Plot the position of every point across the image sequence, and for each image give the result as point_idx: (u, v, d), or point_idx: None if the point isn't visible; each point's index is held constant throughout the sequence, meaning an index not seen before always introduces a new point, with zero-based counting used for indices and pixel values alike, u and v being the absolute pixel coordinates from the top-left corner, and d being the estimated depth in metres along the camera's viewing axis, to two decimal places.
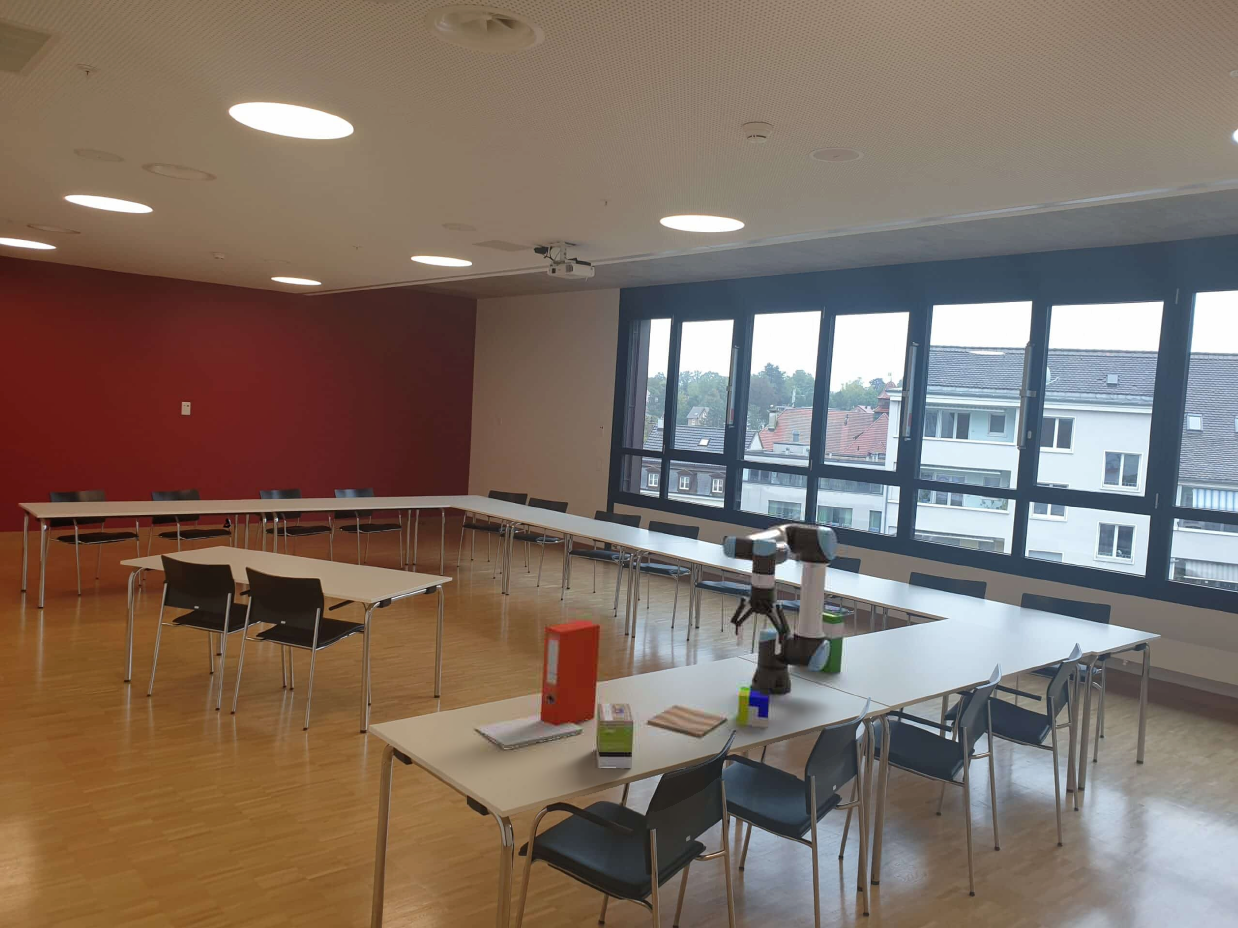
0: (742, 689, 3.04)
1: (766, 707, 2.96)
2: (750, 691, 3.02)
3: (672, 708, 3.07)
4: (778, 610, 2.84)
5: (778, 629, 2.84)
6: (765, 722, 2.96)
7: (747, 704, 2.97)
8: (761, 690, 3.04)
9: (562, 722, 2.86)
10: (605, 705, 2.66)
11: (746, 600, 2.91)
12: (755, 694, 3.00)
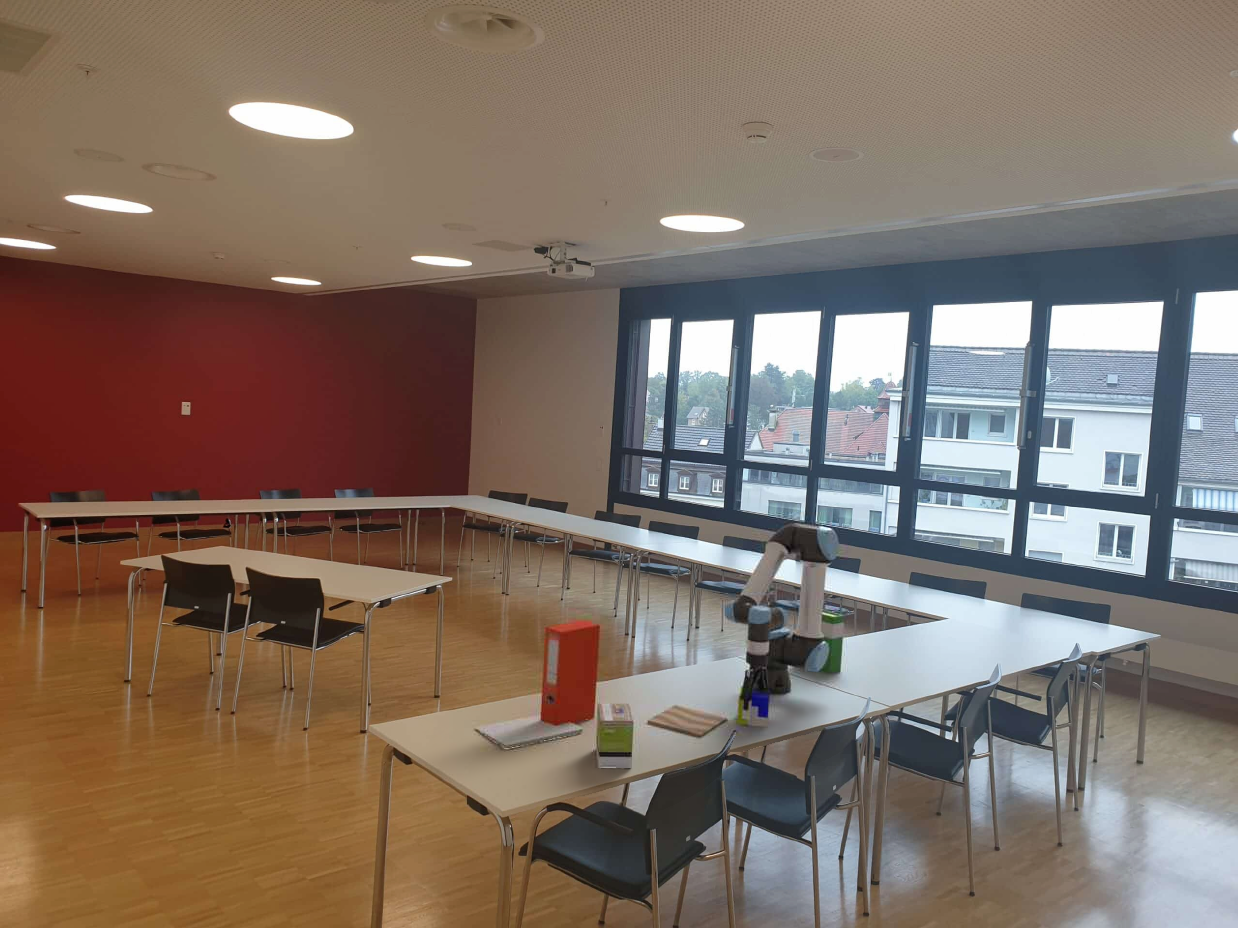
0: None
1: (766, 707, 2.96)
2: None
3: (672, 708, 3.07)
4: None
5: None
6: (765, 722, 2.96)
7: None
8: (761, 690, 3.04)
9: (562, 722, 2.86)
10: (605, 705, 2.66)
11: None
12: (754, 693, 3.00)
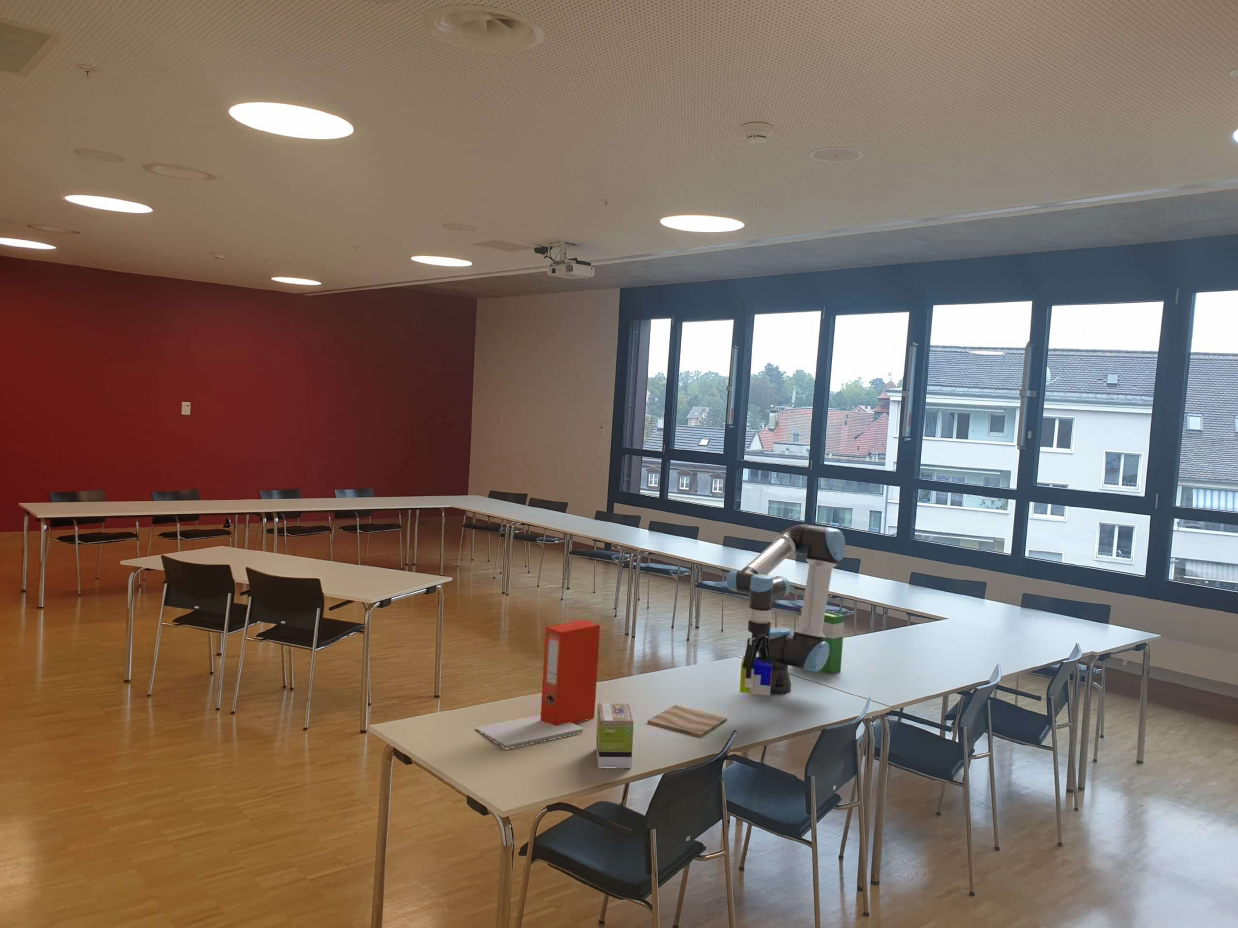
0: None
1: (768, 675, 2.96)
2: None
3: (672, 708, 3.07)
4: None
5: None
6: (768, 690, 2.96)
7: None
8: (763, 659, 3.03)
9: (562, 722, 2.86)
10: (605, 705, 2.66)
11: None
12: (757, 662, 2.99)
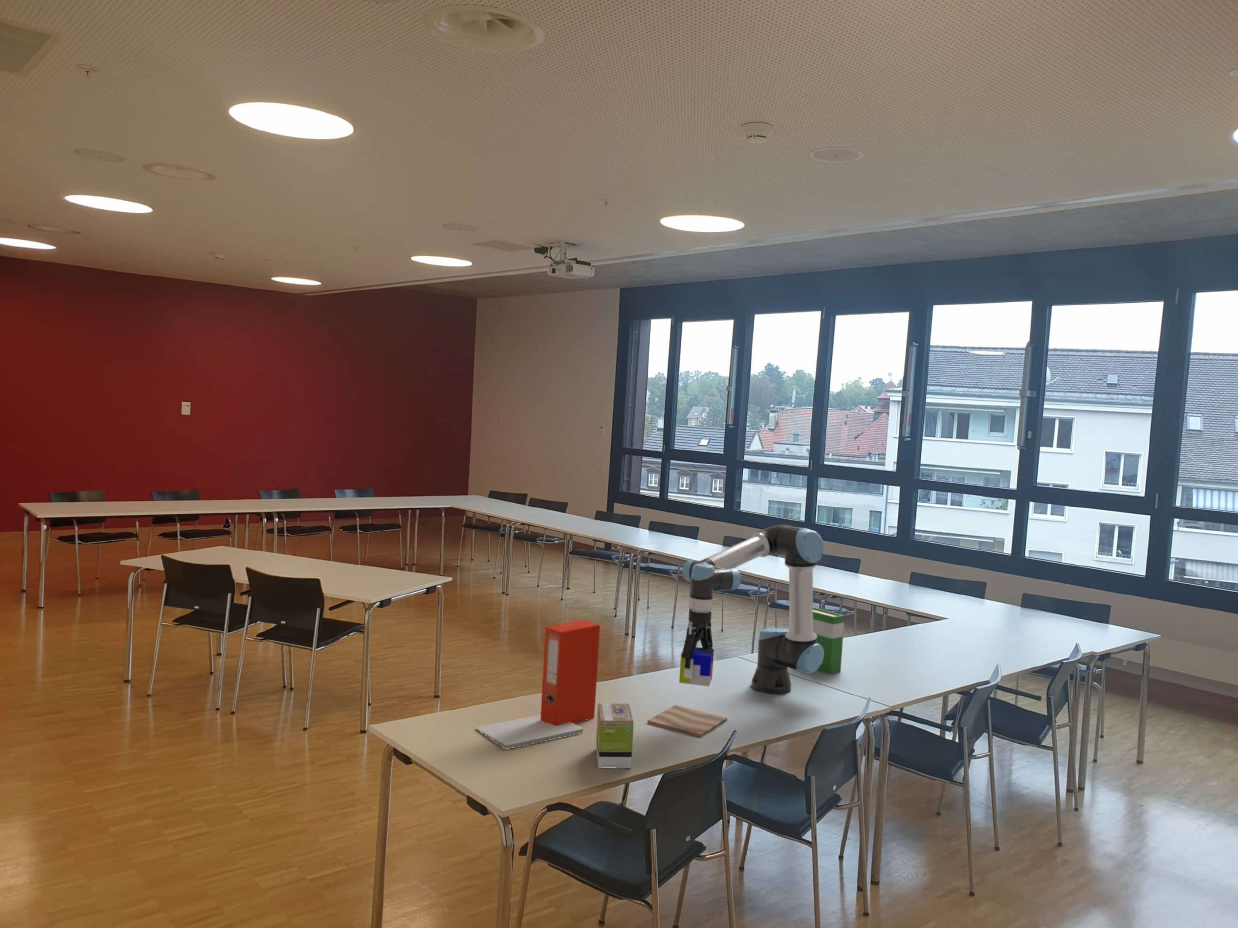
0: None
1: (708, 665, 2.91)
2: None
3: (672, 708, 3.07)
4: None
5: None
6: (707, 681, 2.91)
7: None
8: (704, 649, 2.98)
9: (562, 722, 2.86)
10: (605, 705, 2.66)
11: None
12: (697, 652, 2.94)
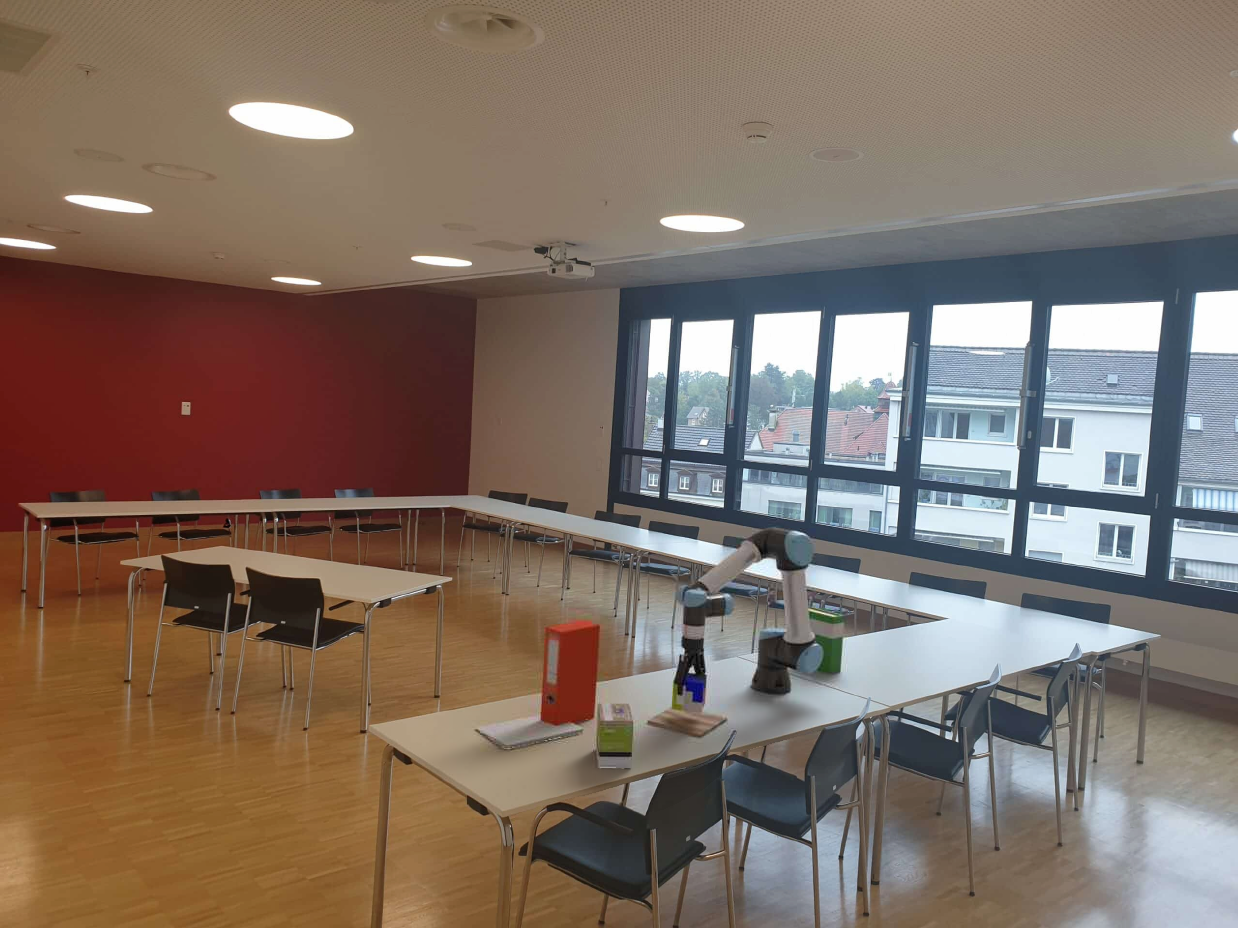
0: None
1: (700, 692, 2.91)
2: None
3: None
4: None
5: None
6: (699, 707, 2.91)
7: None
8: (697, 675, 2.99)
9: (562, 722, 2.86)
10: (605, 705, 2.66)
11: None
12: (690, 678, 2.95)
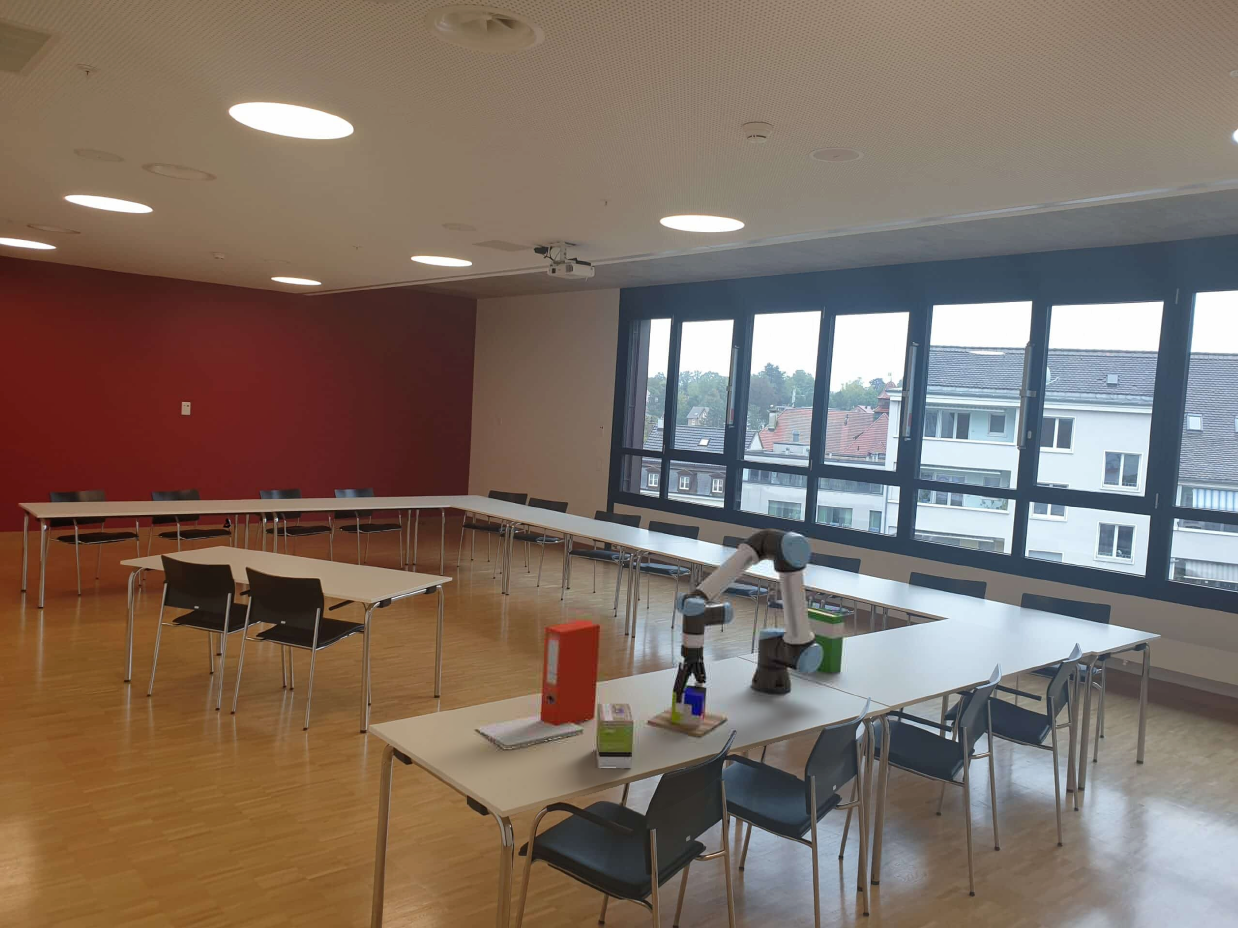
0: None
1: (699, 705, 2.91)
2: (685, 689, 2.97)
3: None
4: None
5: None
6: (698, 720, 2.92)
7: None
8: (697, 688, 2.99)
9: (562, 722, 2.86)
10: (605, 705, 2.66)
11: None
12: (689, 691, 2.95)
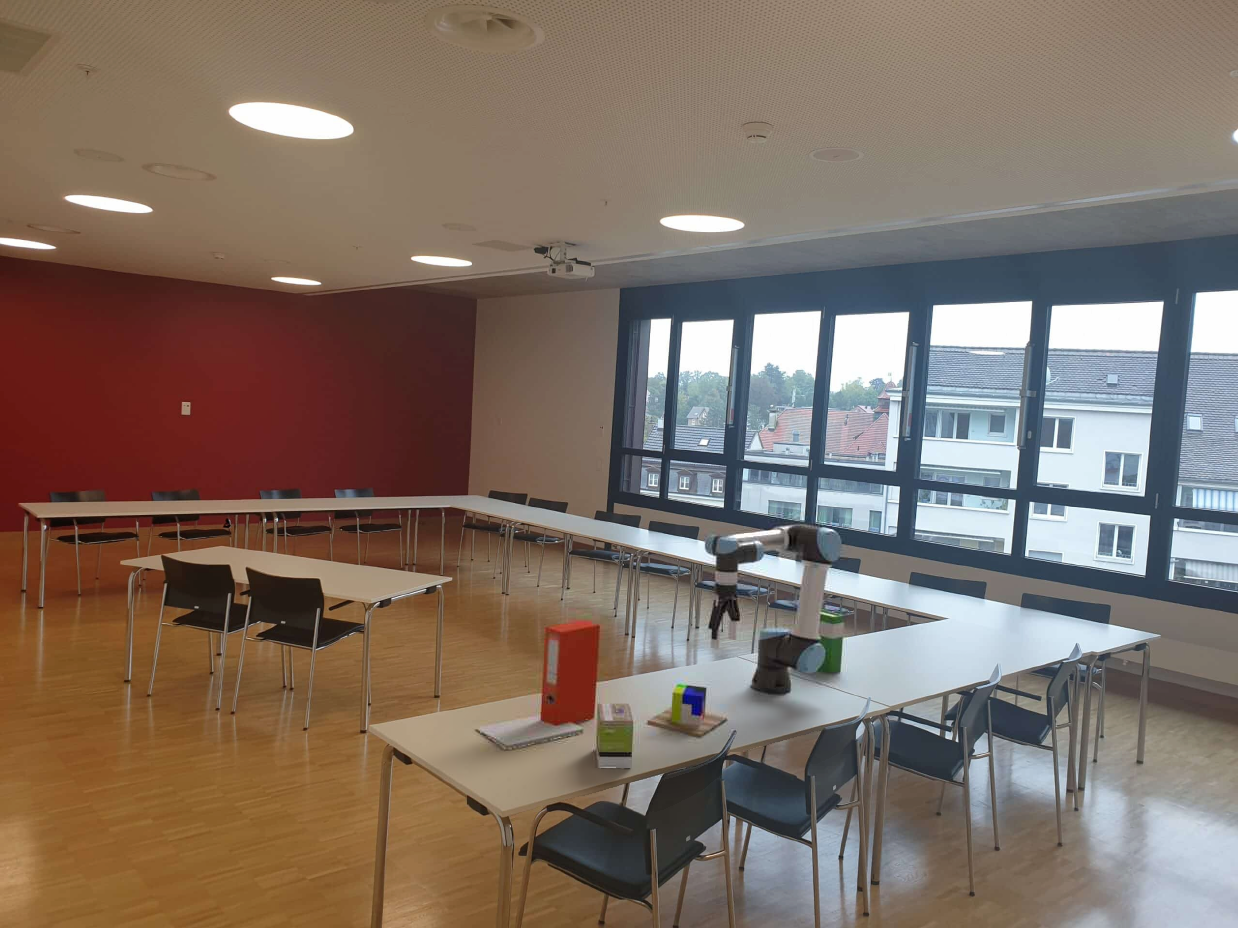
0: (678, 686, 3.00)
1: (699, 705, 2.91)
2: (685, 689, 2.97)
3: None
4: None
5: None
6: (698, 720, 2.92)
7: (680, 702, 2.93)
8: (697, 688, 2.99)
9: (562, 722, 2.86)
10: (605, 705, 2.66)
11: None
12: (689, 691, 2.95)
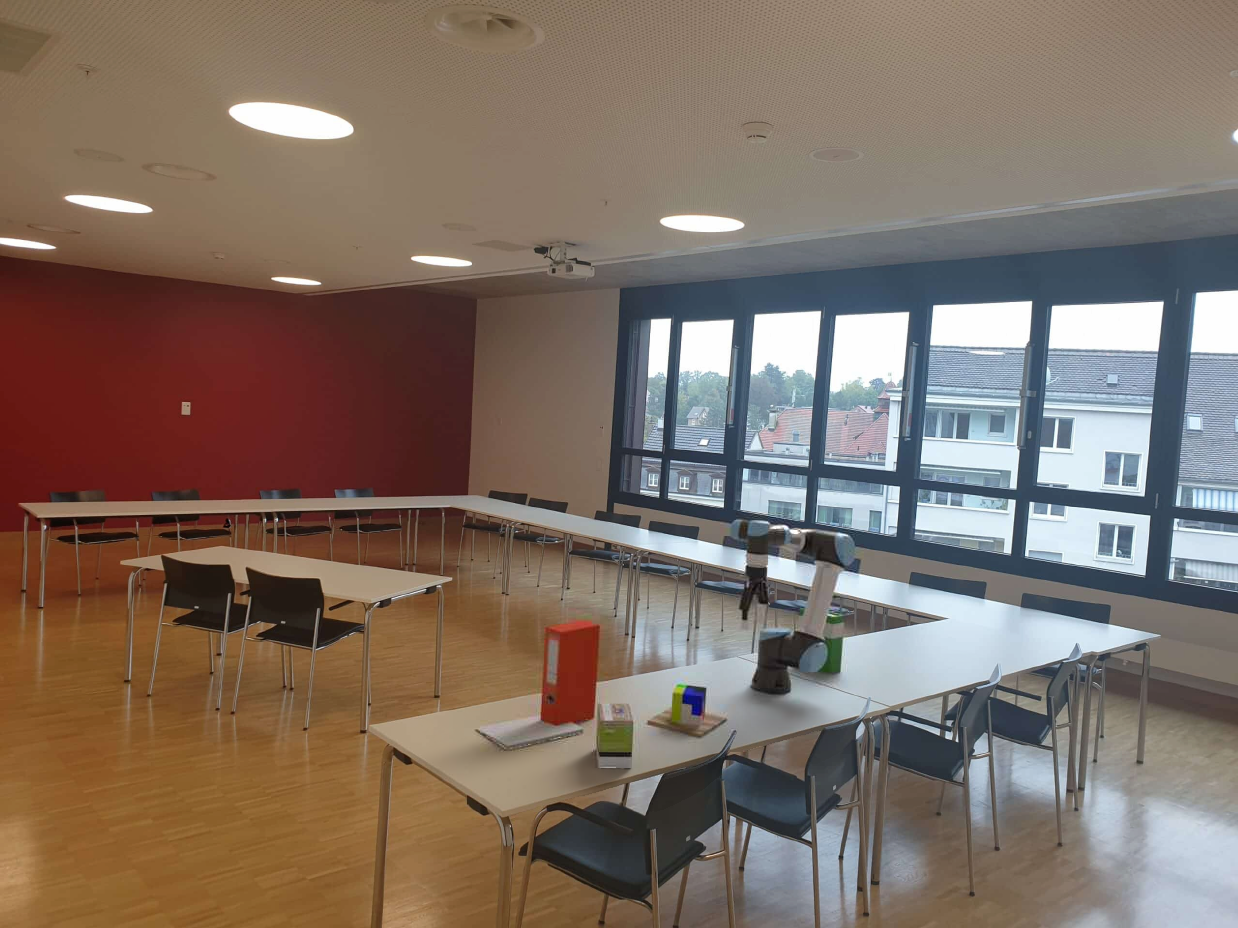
0: (678, 686, 3.00)
1: (699, 705, 2.91)
2: (685, 689, 2.97)
3: None
4: None
5: None
6: (698, 720, 2.92)
7: (680, 702, 2.93)
8: (697, 688, 2.99)
9: (562, 722, 2.86)
10: (605, 705, 2.66)
11: None
12: (689, 691, 2.95)
